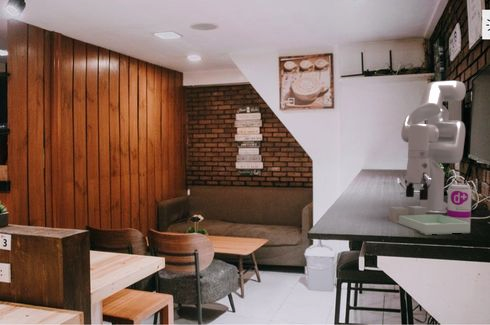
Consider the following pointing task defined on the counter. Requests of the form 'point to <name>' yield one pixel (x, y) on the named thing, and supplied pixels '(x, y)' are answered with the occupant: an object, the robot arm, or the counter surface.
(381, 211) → the counter surface
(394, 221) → the birch board
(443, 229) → the tub
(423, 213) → the stone
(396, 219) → the stone
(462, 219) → the supplement can
